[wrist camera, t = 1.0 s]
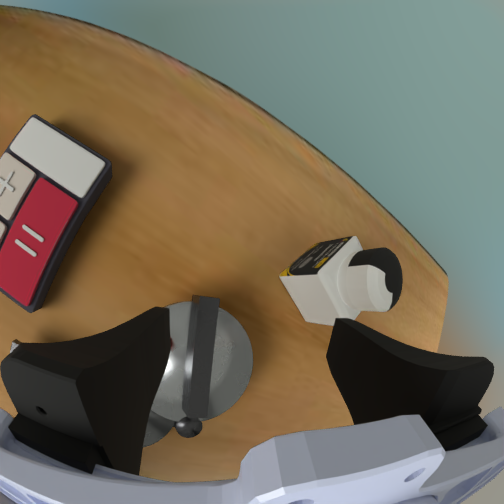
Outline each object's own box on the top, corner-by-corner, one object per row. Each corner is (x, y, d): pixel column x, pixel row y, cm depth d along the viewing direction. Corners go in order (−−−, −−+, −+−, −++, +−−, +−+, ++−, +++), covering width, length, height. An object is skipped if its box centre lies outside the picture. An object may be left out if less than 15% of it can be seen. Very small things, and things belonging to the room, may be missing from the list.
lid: (240, 430, 23) (253, 442, 20) (127, 431, 18) (130, 448, 16) (256, 302, 25) (272, 304, 23) (134, 285, 20) (137, 286, 18)
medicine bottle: (314, 242, 34) (393, 226, 24) (338, 287, 36) (415, 286, 25) (276, 275, 31) (358, 270, 21) (305, 323, 32) (386, 334, 22)
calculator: (-49, 249, 12) (31, 108, 16) (-30, 252, 16) (40, 128, 20) (29, 316, 16) (113, 159, 20) (42, 309, 20) (114, 175, 24)
